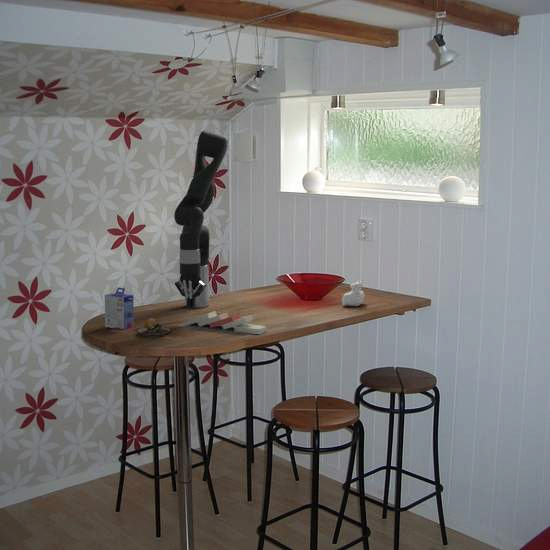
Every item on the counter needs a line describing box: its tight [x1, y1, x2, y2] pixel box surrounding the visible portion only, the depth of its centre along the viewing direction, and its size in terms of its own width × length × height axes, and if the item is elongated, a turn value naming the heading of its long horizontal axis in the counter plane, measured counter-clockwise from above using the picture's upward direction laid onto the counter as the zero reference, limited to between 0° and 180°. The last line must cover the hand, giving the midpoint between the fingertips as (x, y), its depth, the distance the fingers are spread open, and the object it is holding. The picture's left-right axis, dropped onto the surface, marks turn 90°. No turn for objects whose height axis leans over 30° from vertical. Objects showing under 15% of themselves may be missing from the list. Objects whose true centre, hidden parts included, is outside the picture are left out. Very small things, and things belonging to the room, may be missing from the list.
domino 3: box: [222, 314, 255, 329], centre depth 270 cm, size 2×5×10 cm
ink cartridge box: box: [104, 287, 135, 330], centre depth 275 cm, size 10×6×14 cm, turn 58°
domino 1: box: [186, 310, 218, 325], centre depth 277 cm, size 2×5×10 cm
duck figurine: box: [341, 281, 366, 307], centre depth 314 cm, size 12×8×11 cm
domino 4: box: [235, 323, 267, 335], centre depth 268 cm, size 2×5×10 cm
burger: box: [136, 317, 172, 339], centre depth 266 cm, size 12×12×8 cm
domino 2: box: [198, 312, 229, 327], centre depth 275 cm, size 2×5×10 cm
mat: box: [176, 321, 249, 336], centre depth 274 cm, size 29×11×1 cm, turn 62°
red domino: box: [209, 313, 241, 328], centre depth 272 cm, size 2×5×10 cm
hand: (190, 308), depth 279 cm, fingers closed
